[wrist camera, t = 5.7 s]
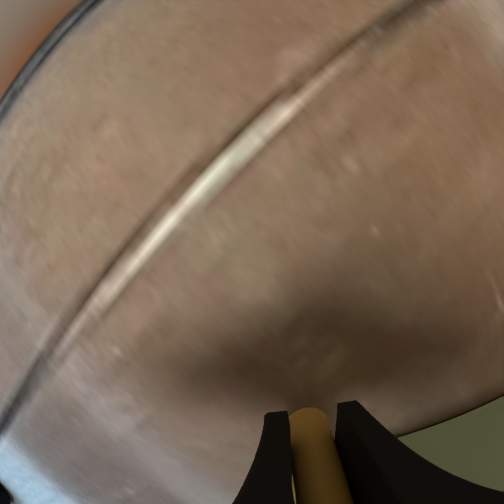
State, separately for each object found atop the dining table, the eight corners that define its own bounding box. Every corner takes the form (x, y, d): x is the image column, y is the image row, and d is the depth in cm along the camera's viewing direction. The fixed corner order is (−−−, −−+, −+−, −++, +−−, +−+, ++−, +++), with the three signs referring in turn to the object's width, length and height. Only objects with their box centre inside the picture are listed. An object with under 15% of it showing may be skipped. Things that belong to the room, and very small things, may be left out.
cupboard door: (249, 384, 12) (253, 587, 4) (535, 314, 12) (637, 382, 4) (264, 473, 14) (273, 617, 5) (510, 401, 14) (581, 478, 5)
